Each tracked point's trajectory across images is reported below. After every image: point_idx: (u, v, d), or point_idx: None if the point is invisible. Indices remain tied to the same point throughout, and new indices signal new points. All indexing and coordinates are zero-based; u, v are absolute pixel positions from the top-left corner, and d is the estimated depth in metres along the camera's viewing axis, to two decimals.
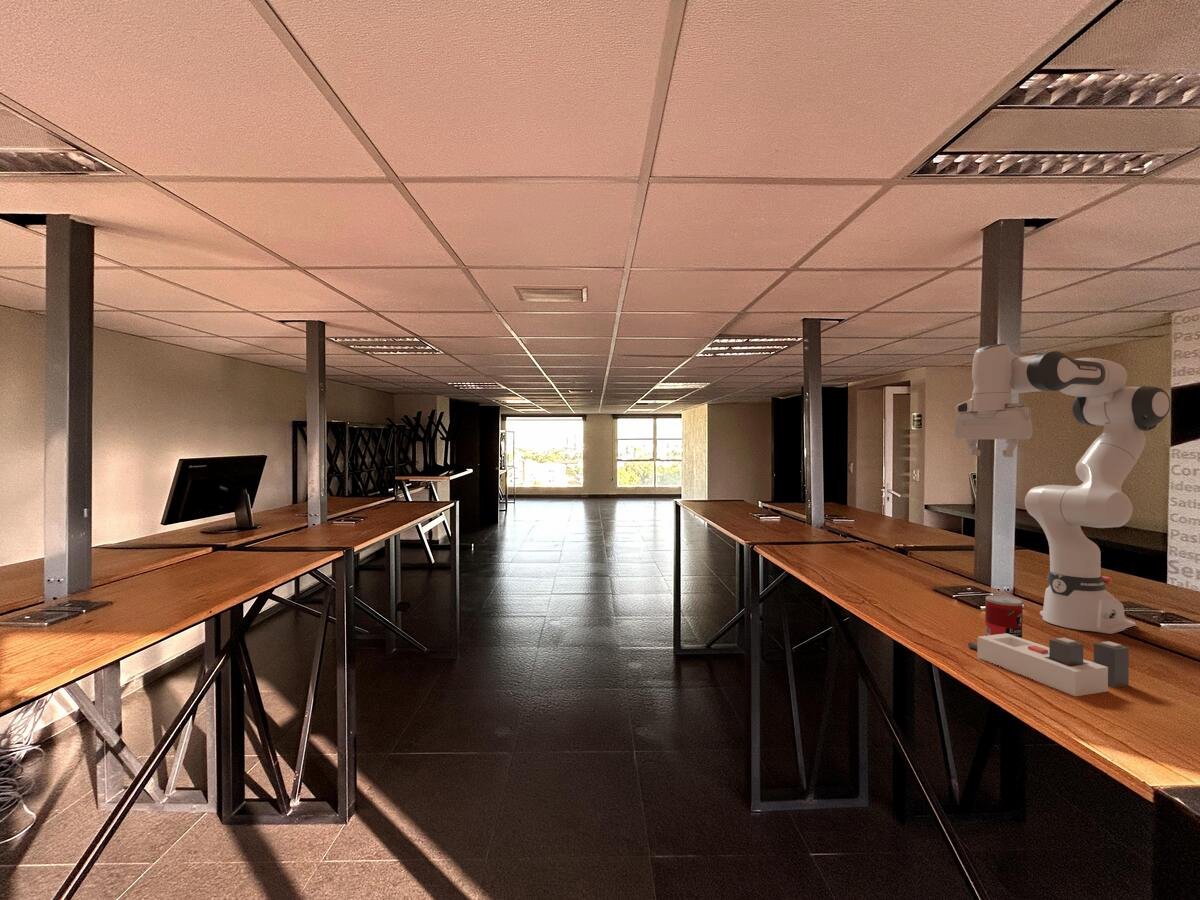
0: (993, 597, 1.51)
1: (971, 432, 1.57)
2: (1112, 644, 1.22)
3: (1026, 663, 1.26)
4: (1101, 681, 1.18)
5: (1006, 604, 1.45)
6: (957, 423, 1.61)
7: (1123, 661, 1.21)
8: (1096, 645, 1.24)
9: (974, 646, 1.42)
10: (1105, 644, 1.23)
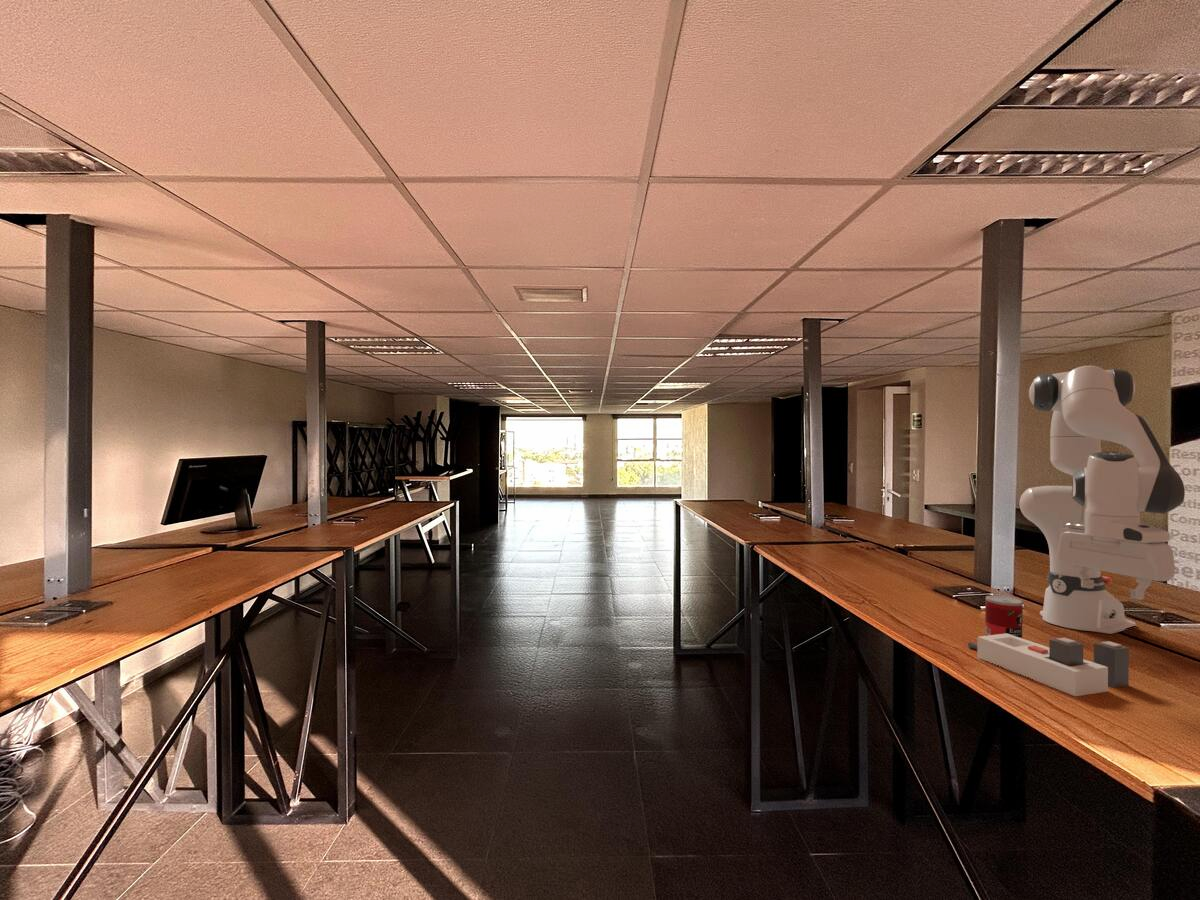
0: (993, 597, 1.51)
1: None
2: (1112, 644, 1.22)
3: (1026, 663, 1.26)
4: (1101, 681, 1.18)
5: (1006, 604, 1.45)
6: None
7: (1123, 661, 1.21)
8: (1096, 645, 1.24)
9: (974, 646, 1.42)
10: (1105, 644, 1.23)
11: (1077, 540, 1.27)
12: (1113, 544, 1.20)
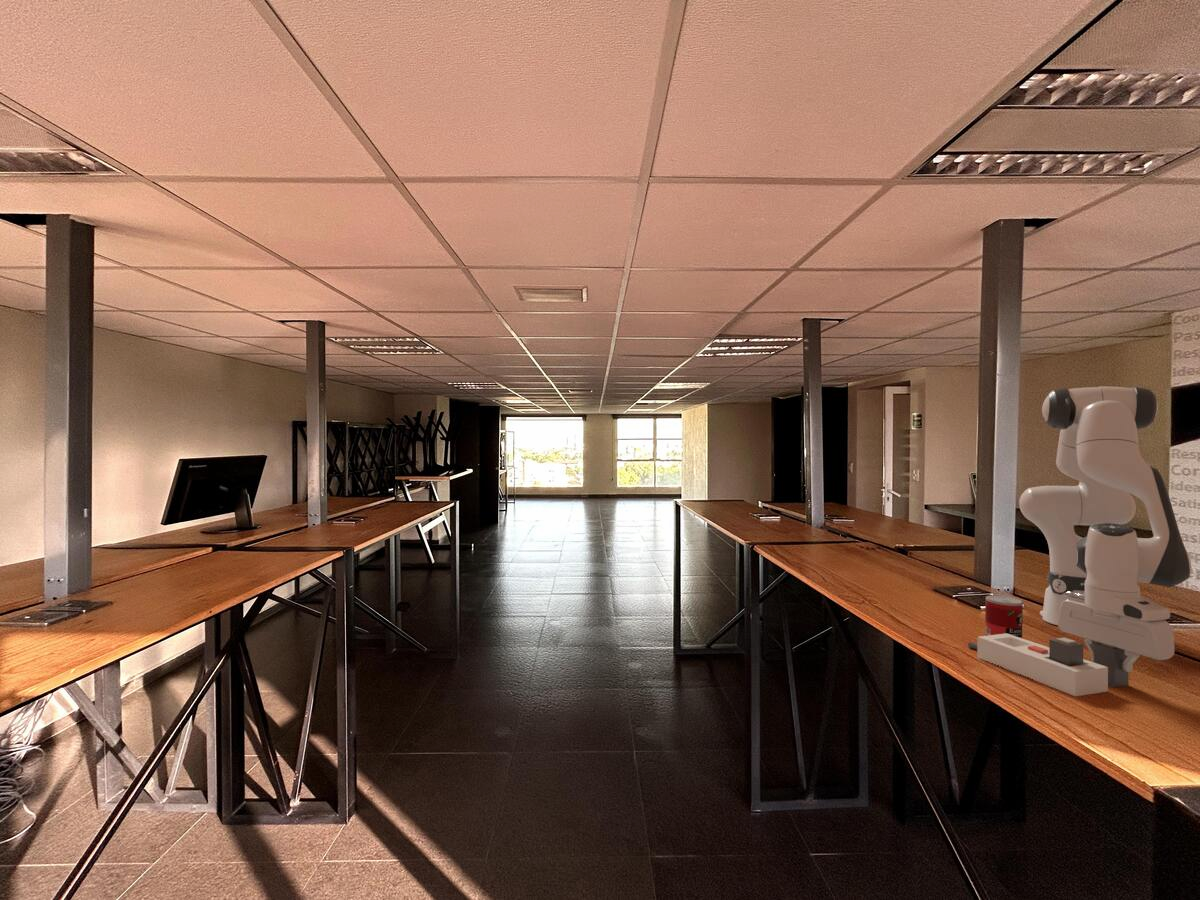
0: (993, 597, 1.51)
1: None
2: None
3: (1026, 663, 1.26)
4: (1101, 681, 1.18)
5: (1006, 604, 1.45)
6: None
7: None
8: (1096, 645, 1.24)
9: (974, 646, 1.42)
10: (1105, 644, 1.23)
11: (1077, 610, 1.27)
12: (1112, 618, 1.20)
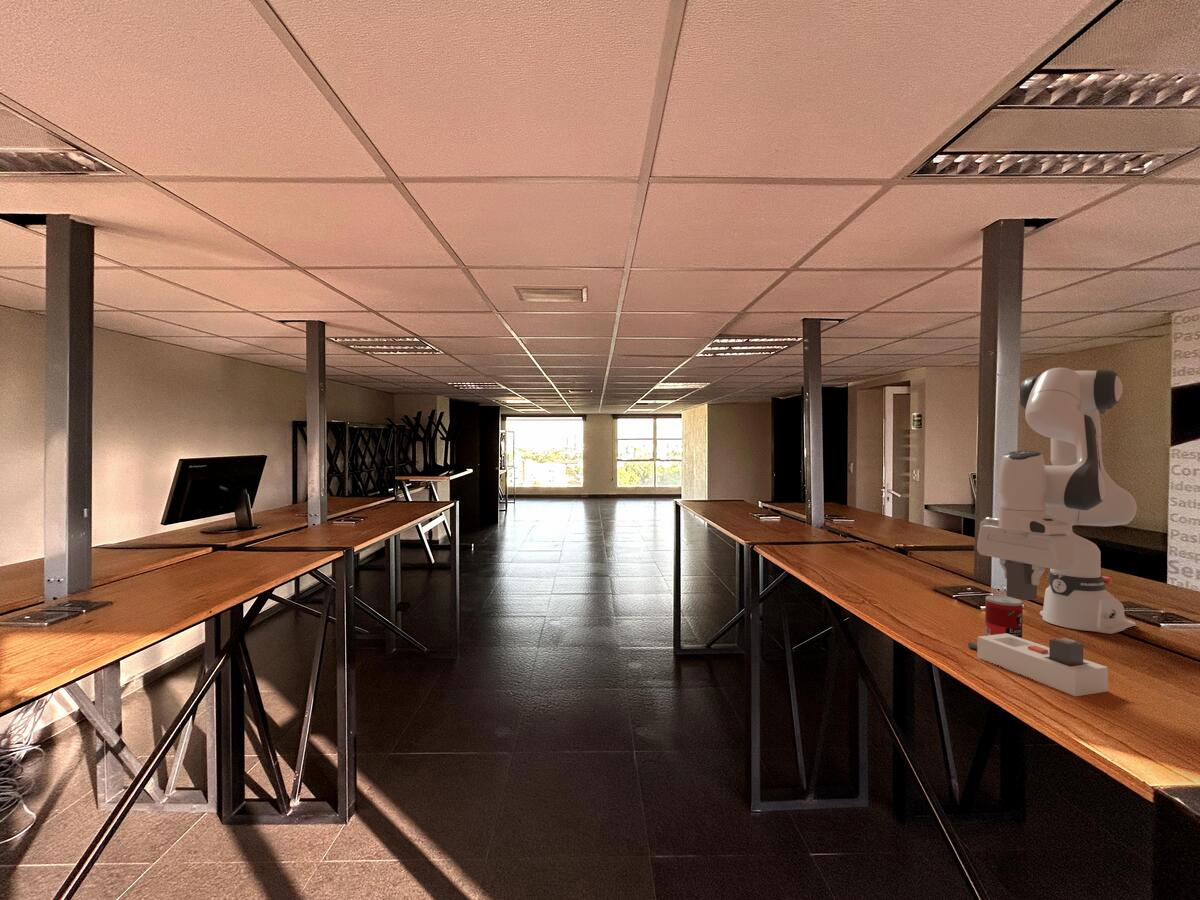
0: (993, 597, 1.51)
1: None
2: None
3: (1026, 663, 1.26)
4: (1101, 681, 1.18)
5: (1006, 604, 1.45)
6: None
7: None
8: (1008, 563, 1.33)
9: (974, 646, 1.42)
10: (1016, 562, 1.32)
11: (993, 533, 1.37)
12: (1021, 536, 1.30)
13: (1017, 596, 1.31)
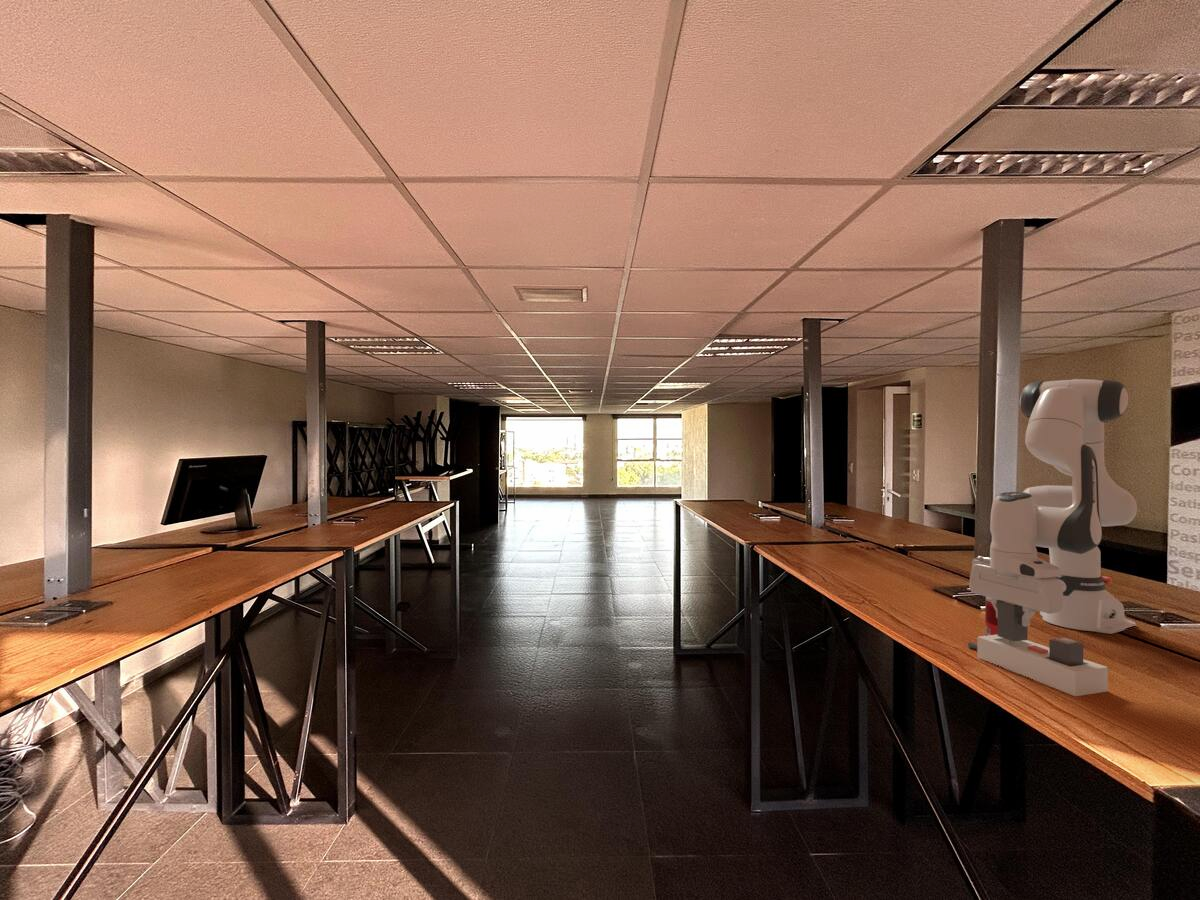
0: None
1: None
2: None
3: (1026, 663, 1.26)
4: (1101, 681, 1.18)
5: None
6: None
7: None
8: (999, 603, 1.34)
9: (974, 646, 1.42)
10: (1007, 602, 1.33)
11: (984, 572, 1.38)
12: (1012, 578, 1.31)
13: (1008, 637, 1.32)
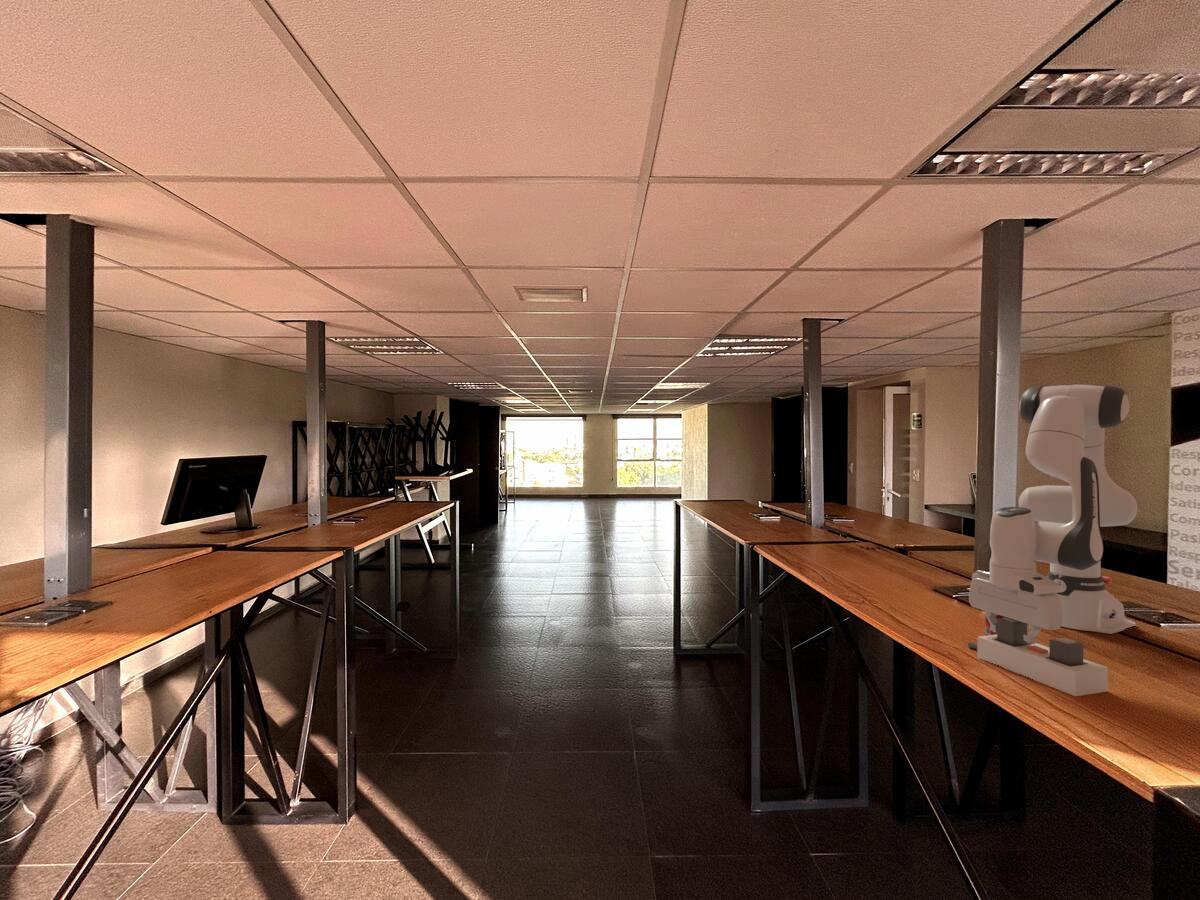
0: None
1: None
2: (1012, 619, 1.33)
3: (1026, 663, 1.26)
4: (1101, 681, 1.18)
5: None
6: None
7: (1022, 635, 1.32)
8: (999, 620, 1.34)
9: (974, 646, 1.42)
10: (1006, 619, 1.33)
11: (984, 587, 1.38)
12: (1011, 593, 1.31)
13: None
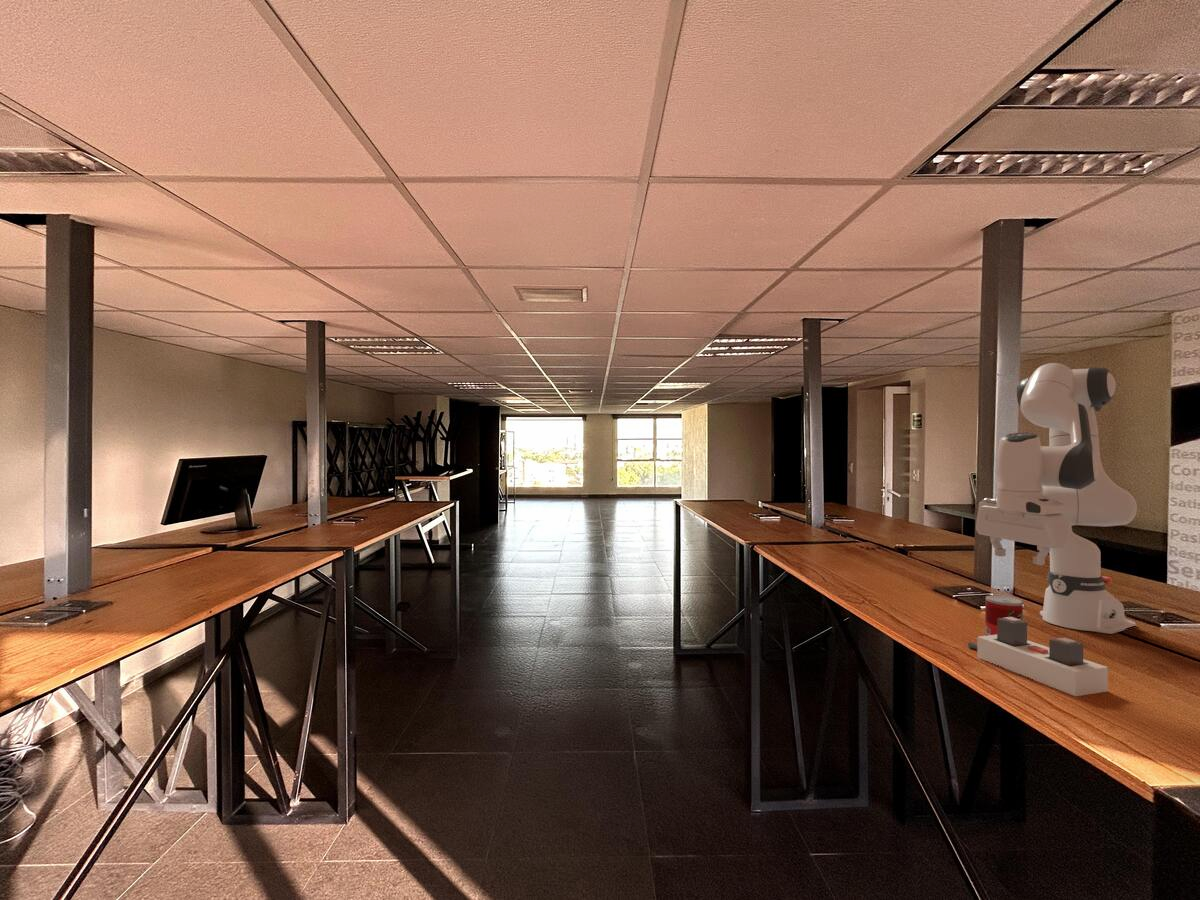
0: (993, 597, 1.51)
1: None
2: (1012, 619, 1.33)
3: (1026, 663, 1.26)
4: (1101, 681, 1.18)
5: (1006, 604, 1.45)
6: None
7: (1022, 635, 1.32)
8: (999, 620, 1.34)
9: (974, 646, 1.42)
10: (1006, 619, 1.33)
11: (991, 513, 1.41)
12: (1018, 516, 1.33)
13: None
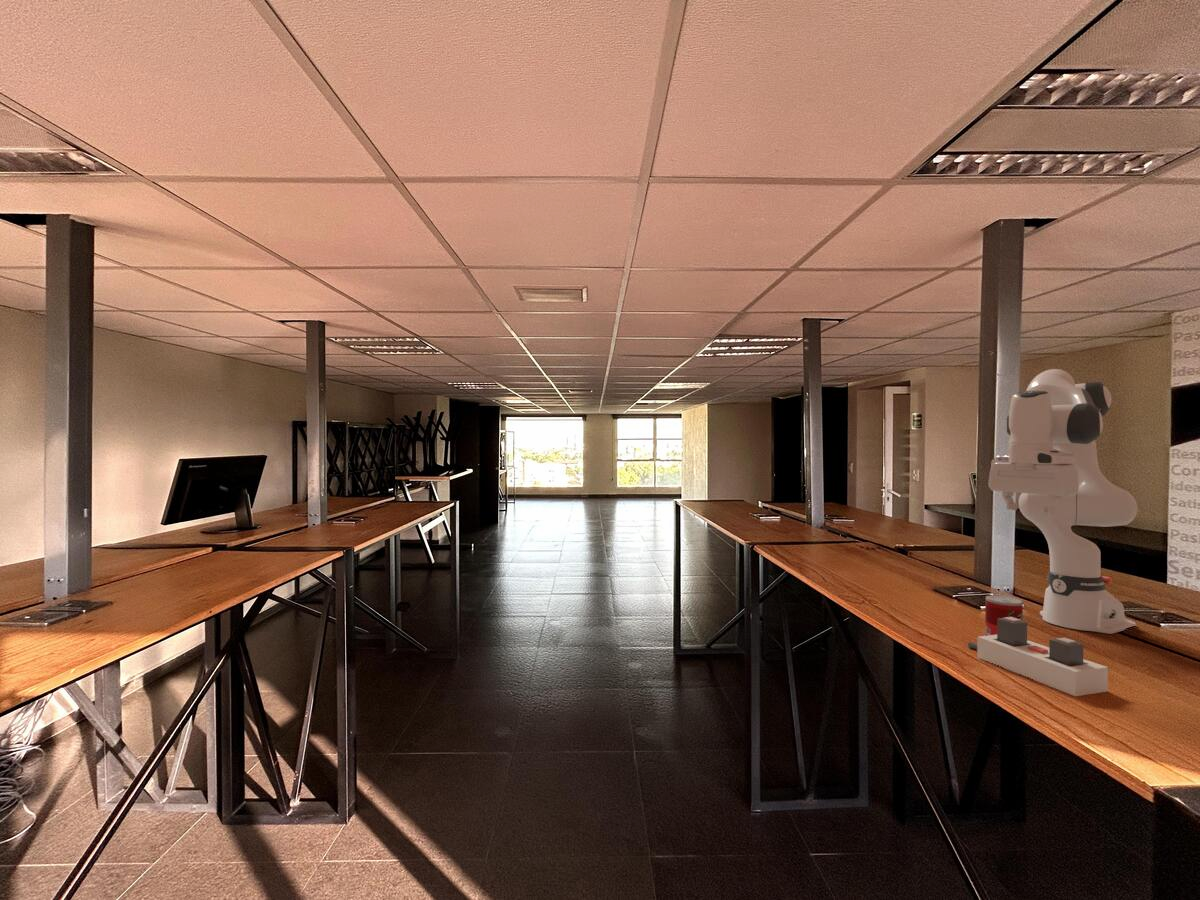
0: (993, 597, 1.51)
1: None
2: (1012, 619, 1.33)
3: (1026, 663, 1.26)
4: (1101, 681, 1.18)
5: (1006, 604, 1.45)
6: None
7: (1022, 635, 1.32)
8: (999, 620, 1.34)
9: (974, 646, 1.42)
10: (1006, 619, 1.33)
11: (1003, 469, 1.47)
12: (1030, 468, 1.40)
13: None
